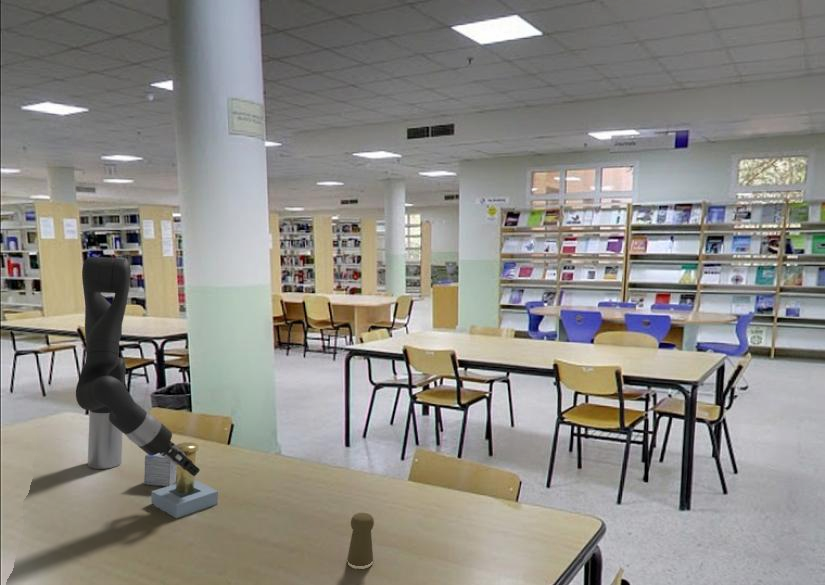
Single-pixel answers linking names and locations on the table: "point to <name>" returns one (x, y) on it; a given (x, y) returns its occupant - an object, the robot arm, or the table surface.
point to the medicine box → (159, 471)
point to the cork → (361, 540)
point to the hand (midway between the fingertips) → (192, 469)
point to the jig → (184, 499)
